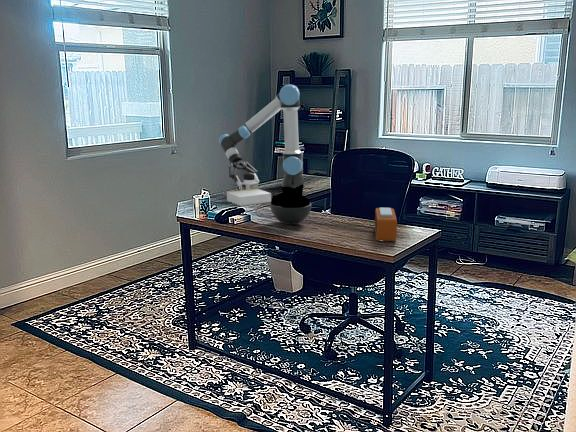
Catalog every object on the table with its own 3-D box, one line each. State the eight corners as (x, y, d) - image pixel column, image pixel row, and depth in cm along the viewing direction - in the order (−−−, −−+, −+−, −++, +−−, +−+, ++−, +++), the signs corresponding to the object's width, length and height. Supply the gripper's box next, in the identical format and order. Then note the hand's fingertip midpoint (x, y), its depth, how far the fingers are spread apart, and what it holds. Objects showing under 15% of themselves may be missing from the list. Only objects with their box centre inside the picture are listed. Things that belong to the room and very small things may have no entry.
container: (250, 196, 335) (249, 175, 332) (240, 195, 340) (239, 173, 336) (258, 194, 341) (258, 173, 338) (248, 193, 346) (248, 172, 342)
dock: (257, 196, 334) (257, 188, 333) (271, 201, 321) (271, 192, 320) (227, 200, 324) (226, 191, 323) (240, 206, 311) (239, 196, 309)
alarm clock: (374, 228, 267) (375, 204, 264) (392, 228, 266) (393, 205, 263) (376, 242, 244) (377, 216, 241) (396, 243, 243) (397, 217, 240)
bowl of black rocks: (274, 230, 262) (273, 190, 258) (267, 219, 281) (266, 182, 277) (315, 228, 266) (316, 188, 262) (306, 217, 285) (306, 181, 281)
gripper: (247, 158, 356) (262, 185, 349) (214, 162, 340) (230, 190, 332) (252, 151, 351) (268, 178, 344) (219, 154, 334) (235, 182, 327)
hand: (249, 184), depth 338 cm, fingers open, 13 cm apart
